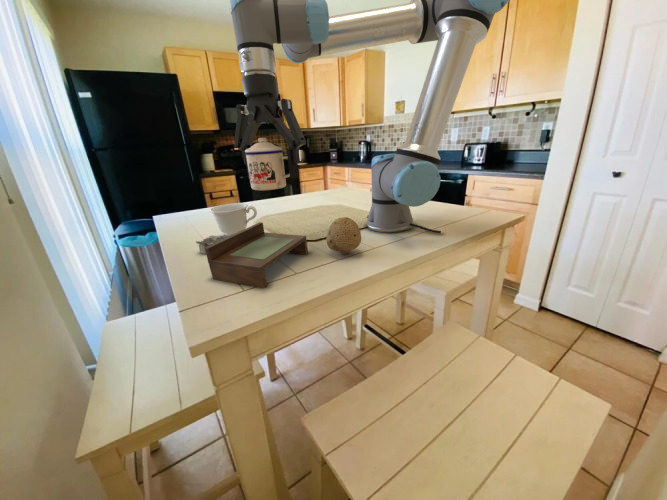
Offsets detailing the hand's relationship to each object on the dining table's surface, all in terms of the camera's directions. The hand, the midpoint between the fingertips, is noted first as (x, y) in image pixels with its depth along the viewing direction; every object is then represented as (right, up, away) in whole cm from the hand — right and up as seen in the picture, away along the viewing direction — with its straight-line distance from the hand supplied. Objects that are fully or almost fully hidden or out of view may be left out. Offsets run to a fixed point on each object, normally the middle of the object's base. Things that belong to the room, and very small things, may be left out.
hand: (273, 177), depth 67 cm
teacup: (-18, -13, +27) cm, 35 cm away
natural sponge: (+18, -19, +6) cm, 27 cm away
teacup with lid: (0, -2, +1) cm, 3 cm away
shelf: (-3, -22, +2) cm, 22 cm away
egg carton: (-20, -18, +16) cm, 31 cm away
